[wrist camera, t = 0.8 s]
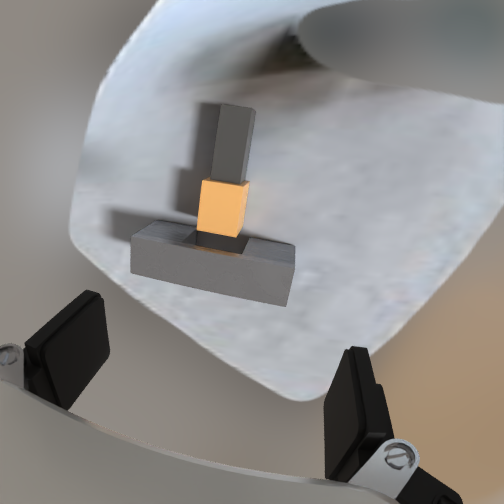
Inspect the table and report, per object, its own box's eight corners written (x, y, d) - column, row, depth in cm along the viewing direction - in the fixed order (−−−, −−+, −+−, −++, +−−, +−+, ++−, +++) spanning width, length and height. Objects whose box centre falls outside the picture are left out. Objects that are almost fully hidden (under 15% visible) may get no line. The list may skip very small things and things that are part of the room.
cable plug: (223, 107, 31) (213, 102, 27) (260, 111, 30) (256, 107, 26) (207, 220, 35) (196, 230, 31) (242, 226, 35) (235, 237, 31)
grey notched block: (157, 219, 36) (130, 236, 30) (295, 246, 34) (294, 268, 28) (155, 252, 37) (130, 272, 31) (288, 278, 36) (285, 306, 30)
